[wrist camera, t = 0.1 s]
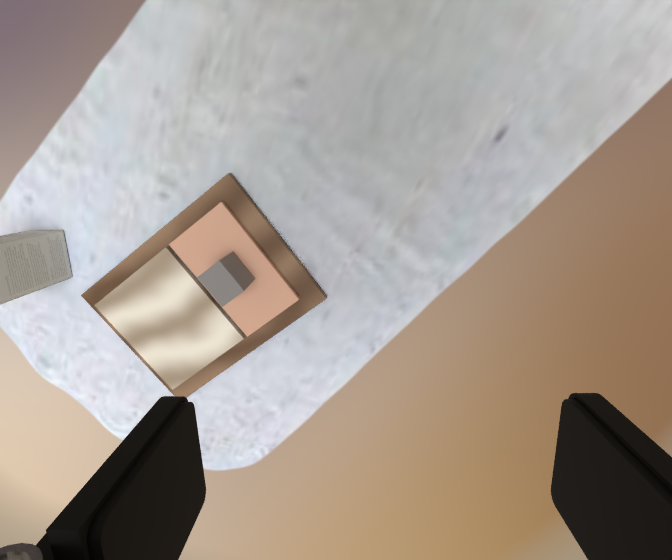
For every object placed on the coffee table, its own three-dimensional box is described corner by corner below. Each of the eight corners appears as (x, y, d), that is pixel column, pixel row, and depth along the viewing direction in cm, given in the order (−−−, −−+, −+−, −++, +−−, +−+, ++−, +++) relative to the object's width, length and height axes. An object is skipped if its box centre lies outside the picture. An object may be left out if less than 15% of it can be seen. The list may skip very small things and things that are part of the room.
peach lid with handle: (171, 243, 46) (146, 252, 40) (223, 201, 44) (204, 205, 38) (248, 334, 48) (235, 355, 43) (299, 297, 47) (292, 314, 41)
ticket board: (87, 292, 49) (76, 297, 47) (231, 173, 45) (226, 173, 43) (183, 396, 52) (177, 405, 50) (326, 295, 48) (325, 300, 46)
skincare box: (30, 229, 47) (-74, 247, 36) (64, 229, 47) (-29, 247, 36) (40, 278, 49) (-56, 310, 37) (73, 278, 49) (-13, 310, 37)
